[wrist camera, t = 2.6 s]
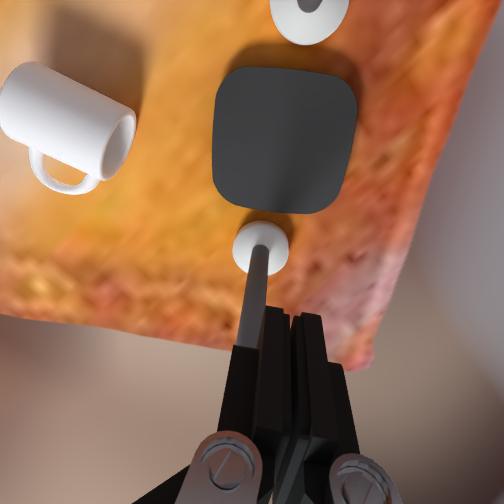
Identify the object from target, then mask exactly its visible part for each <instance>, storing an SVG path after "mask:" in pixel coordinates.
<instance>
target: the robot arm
mask: <svg viewBox="0 0 504 504" xmlns="http://www.w3.org/2000/svg"><path fill="white" fill-rule="evenodd" d="M272 491H273V498H272V500H273V504H402V501H401V499H400V496H399V494H398V491H397V489H396V487H395V485H394V483H393V481H392V479H391V477H390V476H389V475H388V474H387V472H386V471H385V470H384V469H383V468H382V467H381V466H380V465H379V464H377V463H376V462H374V460H372V459H370V458H368V457H366V456H364V455H361V454H360V451H359V445H358V440H357V435H356V431H355V425H354V421H353V415H352V410H351V406H350V400H349V396H348V390H347V386H346V380H345V375H344V371H343V367H342V365H341V364H338V363H332V362H328V359H327V353H326V346H325V339H324V333H323V326H322V320H321V316H320V315H316V314H311V313H305V312H302V313H301V315H300V316H294V318H293V321H292V325H291V329H290V315H289V314H284V311H283V308H277V307H272V306H265V309H264V313H263V318H262V323H261V327H260V332H259V336H258V341H257V346H256V349H255V348H250V347H244V346H238V345H233V350H232V355H231V360H230V366H229V371H228V376H227V381H226V387H225V392H224V397H223V402H222V407H221V413H220V418H219V423H218V429H217V432H216V433H214V434H211V435H209V436H208V437H207V438H206V439H205V440H203V441H202V442H201V443H200V445H199V447H198V449H197V450H196V452H195V454H194V457H193V459H192V462H191V464H190V465H189V466H187V467H185V468H184V469H183V470H181V471H180V472H178V473H177V474H175V475H174V476H172V477H171V478H169V479H168V480H166V481H165V482H163V483H162V484H160V485H159V486H157V487H156V488H155V489H153V490H152V491H150V492H148V493H147V494H145V495H144V496H143V497H141V498H140V499H138V500H137V501H135V502H134V503H132V504H268V503H269V500H270V497H271V494H272Z"/></svg>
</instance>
